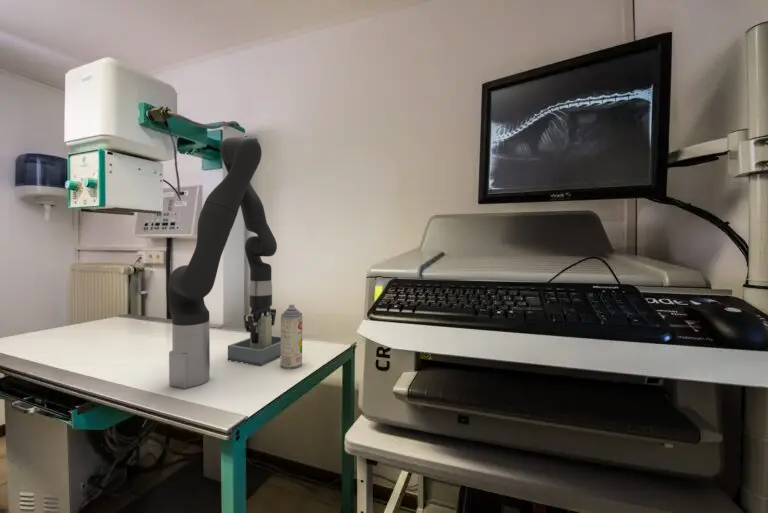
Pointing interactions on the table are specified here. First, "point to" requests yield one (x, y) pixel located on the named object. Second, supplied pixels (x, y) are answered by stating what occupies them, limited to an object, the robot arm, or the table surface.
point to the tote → (254, 352)
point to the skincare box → (263, 334)
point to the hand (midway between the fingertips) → (260, 340)
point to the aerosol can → (291, 338)
